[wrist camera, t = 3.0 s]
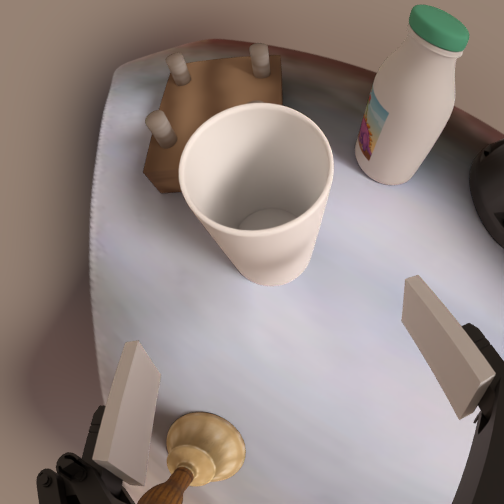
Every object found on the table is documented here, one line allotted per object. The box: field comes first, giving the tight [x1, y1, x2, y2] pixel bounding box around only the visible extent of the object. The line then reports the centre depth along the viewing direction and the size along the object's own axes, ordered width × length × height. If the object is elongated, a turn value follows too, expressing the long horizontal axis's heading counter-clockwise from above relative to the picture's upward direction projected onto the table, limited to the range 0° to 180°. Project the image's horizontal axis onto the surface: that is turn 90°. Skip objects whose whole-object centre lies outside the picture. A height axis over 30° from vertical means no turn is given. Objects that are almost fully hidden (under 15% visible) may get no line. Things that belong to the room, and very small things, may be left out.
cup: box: [179, 103, 334, 286], centre depth 23 cm, size 8×8×16 cm
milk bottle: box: [355, 5, 469, 185], centre depth 22 cm, size 8×8×20 cm
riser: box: [143, 43, 283, 193], centre depth 31 cm, size 14×17×9 cm
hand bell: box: [137, 412, 246, 504], centre depth 18 cm, size 8×8×16 cm
